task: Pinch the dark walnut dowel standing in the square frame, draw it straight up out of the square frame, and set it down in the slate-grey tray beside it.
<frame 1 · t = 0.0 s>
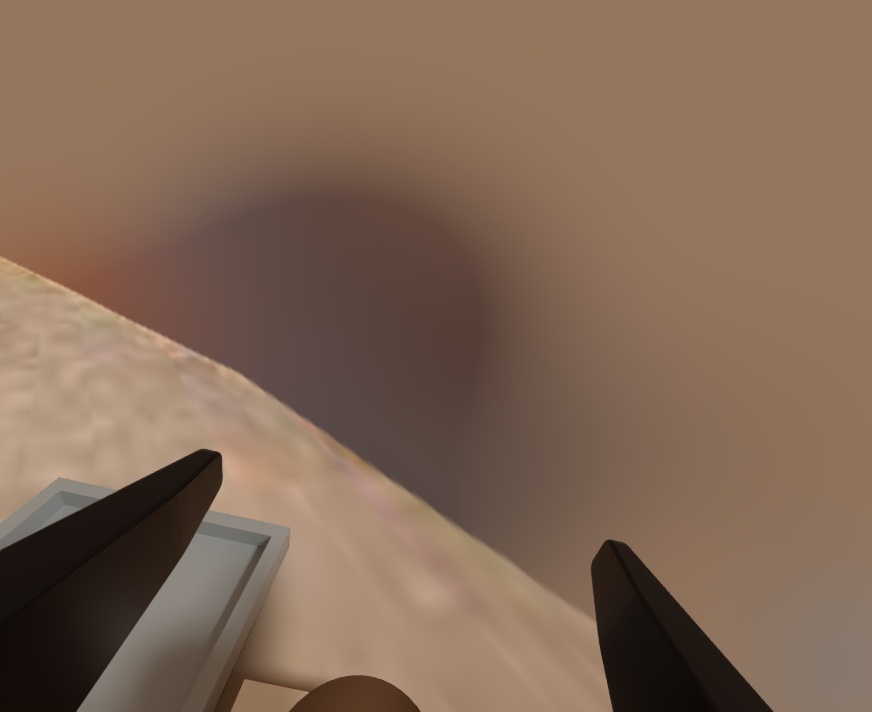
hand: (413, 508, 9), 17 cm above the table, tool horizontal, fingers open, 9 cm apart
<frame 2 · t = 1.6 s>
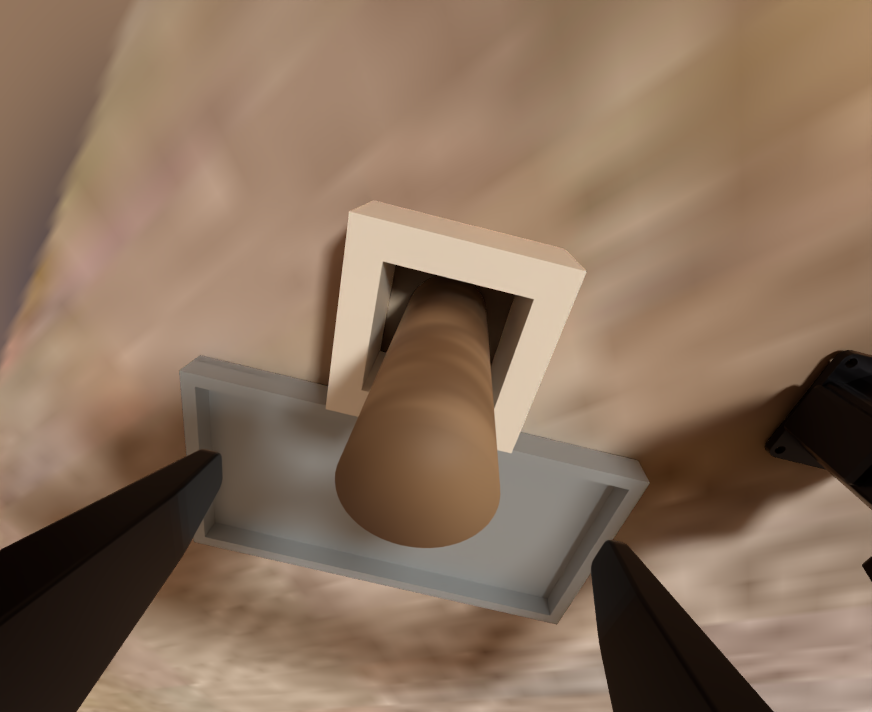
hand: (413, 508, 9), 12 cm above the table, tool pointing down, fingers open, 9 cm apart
tray: (400, 493, 26), on the table
pin: (437, 371, 15), in the square frame
square frame: (446, 314, 20), on the table
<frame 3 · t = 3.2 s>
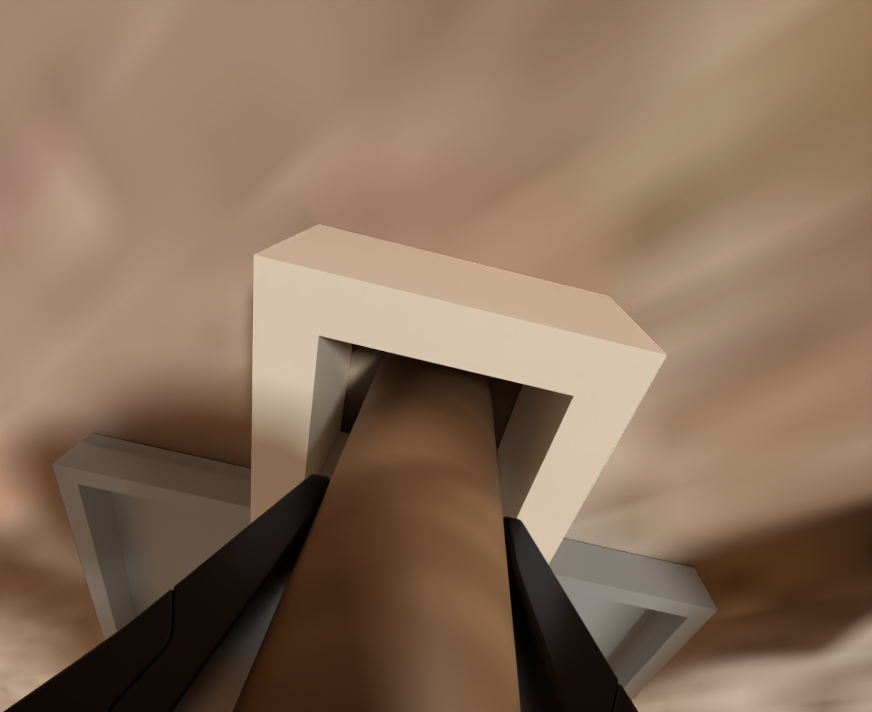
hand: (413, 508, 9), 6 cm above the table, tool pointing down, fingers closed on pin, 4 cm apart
tray: (376, 599, 20), on the table
pin: (411, 525, 9), in the square frame, touching gripper
square frame: (433, 384, 14), on the table
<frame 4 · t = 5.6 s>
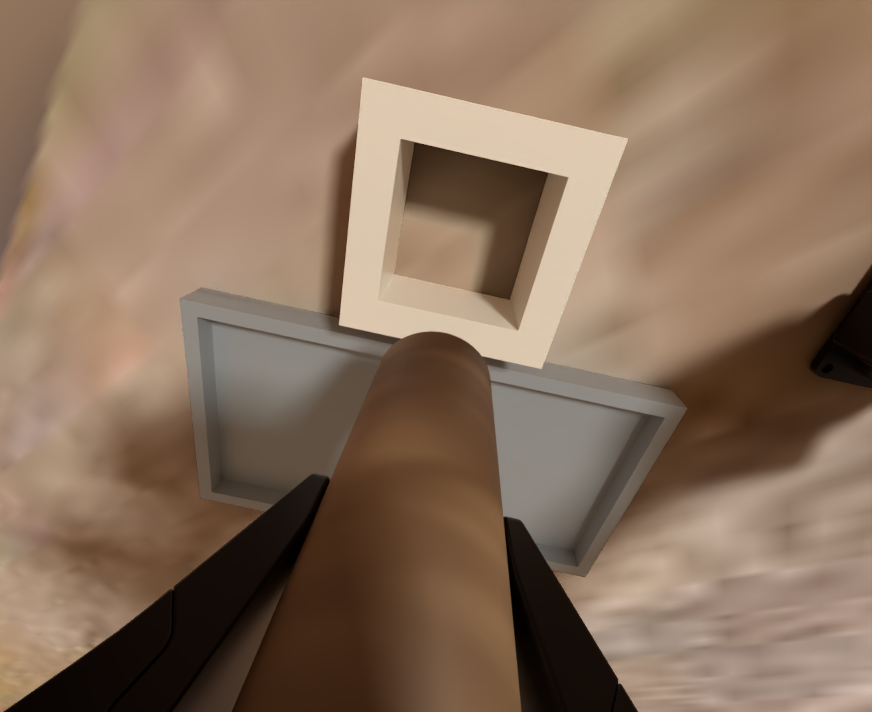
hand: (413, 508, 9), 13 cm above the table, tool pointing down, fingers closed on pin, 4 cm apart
tray: (417, 439, 25), on the table
pin: (411, 524, 9), point 14 cm above the table, touching gripper
square frame: (465, 226, 19), on the table
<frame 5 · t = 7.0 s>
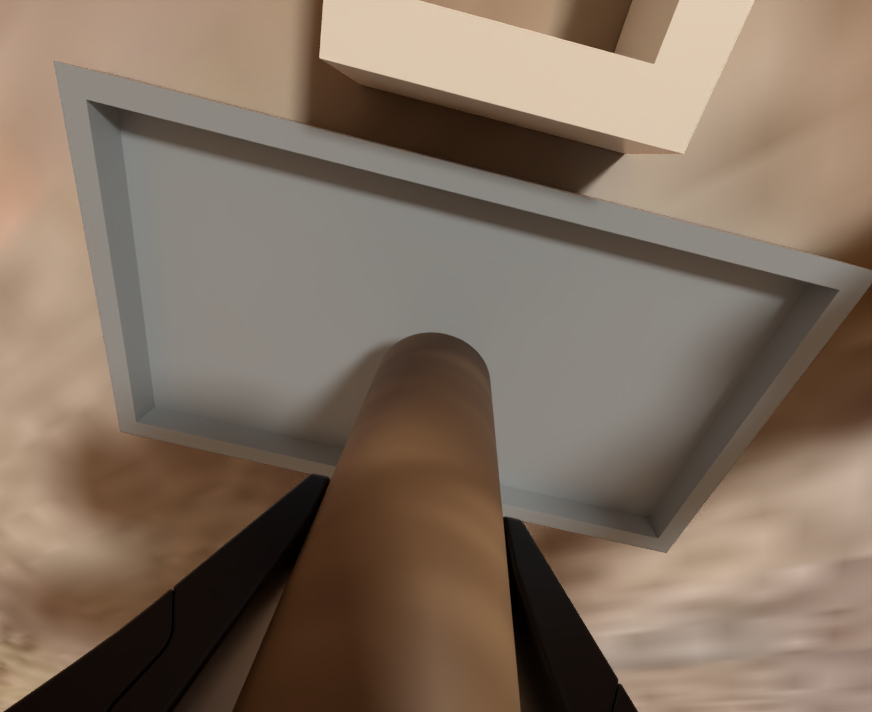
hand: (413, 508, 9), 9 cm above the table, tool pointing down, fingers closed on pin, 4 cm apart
tray: (437, 346, 17), on the table
pin: (411, 526, 9), point 9 cm above the table, touching gripper
when the fingers open (7 cm above the table, at t = 7.9 s): pin drops 1 cm, resting on tray.
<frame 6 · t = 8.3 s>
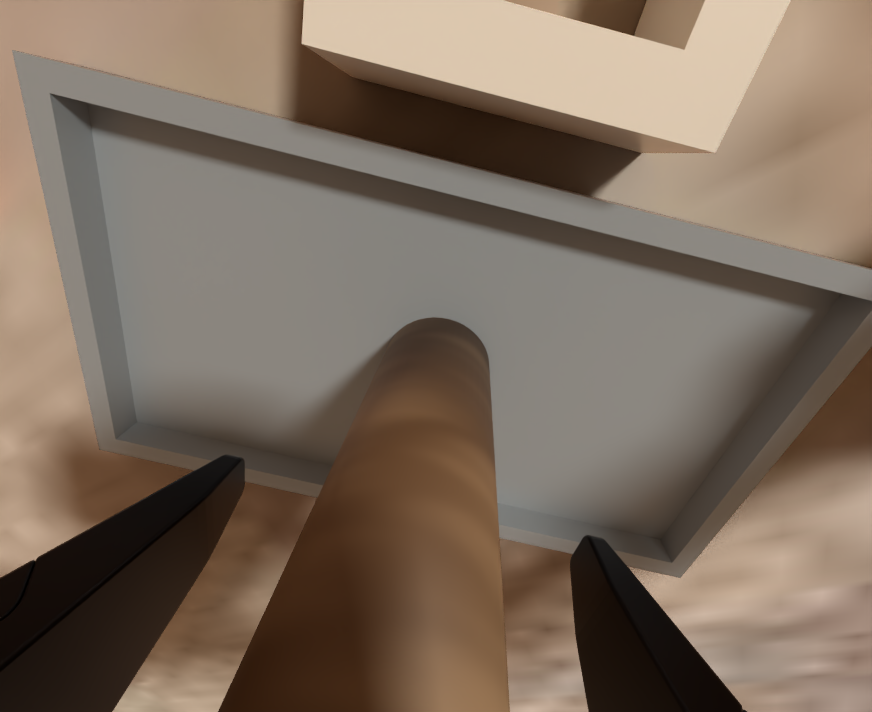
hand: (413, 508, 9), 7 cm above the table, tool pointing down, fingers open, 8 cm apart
tray: (436, 359, 16), on the table
pin: (414, 480, 10), point 7 cm above the table, touching tray
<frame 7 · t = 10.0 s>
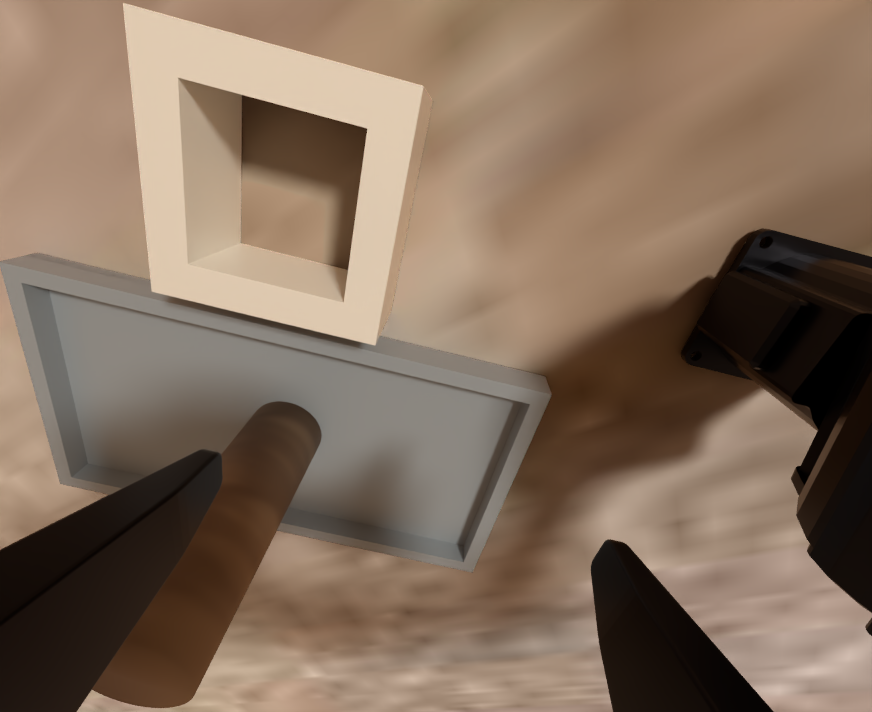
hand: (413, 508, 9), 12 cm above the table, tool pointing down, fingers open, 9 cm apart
tray: (290, 424, 23), on the table
pin: (232, 515, 17), point 7 cm above the table, touching tray
square frame: (309, 192, 17), on the table
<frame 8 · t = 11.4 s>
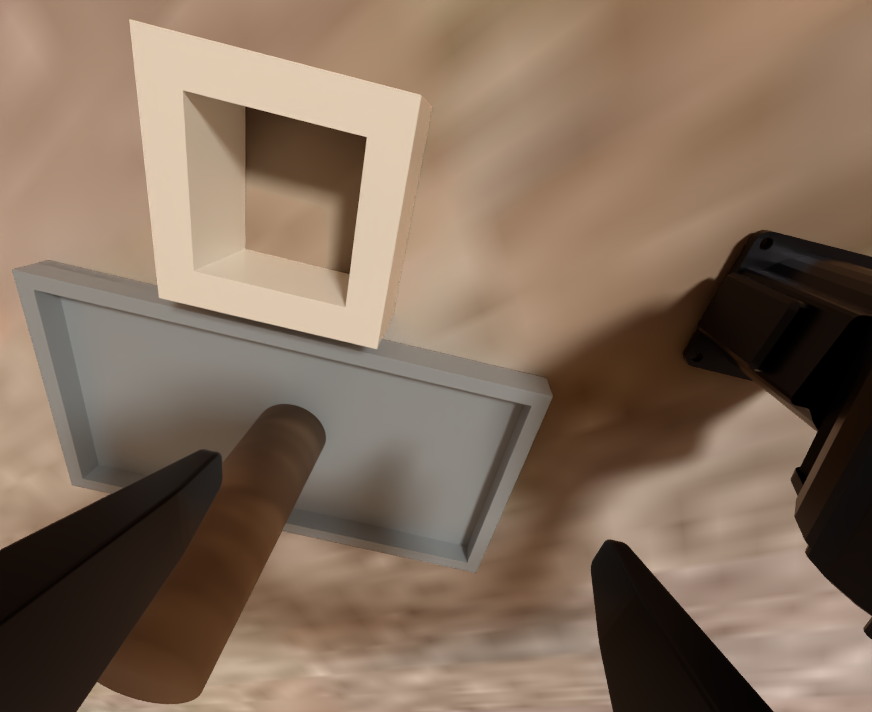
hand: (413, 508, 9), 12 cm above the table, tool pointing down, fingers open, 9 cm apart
tray: (295, 426, 24), on the table
pin: (238, 516, 18), point 7 cm above the table, touching tray
square frame: (312, 198, 18), on the table
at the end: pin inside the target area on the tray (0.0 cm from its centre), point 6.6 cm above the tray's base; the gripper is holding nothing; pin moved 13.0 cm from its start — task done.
